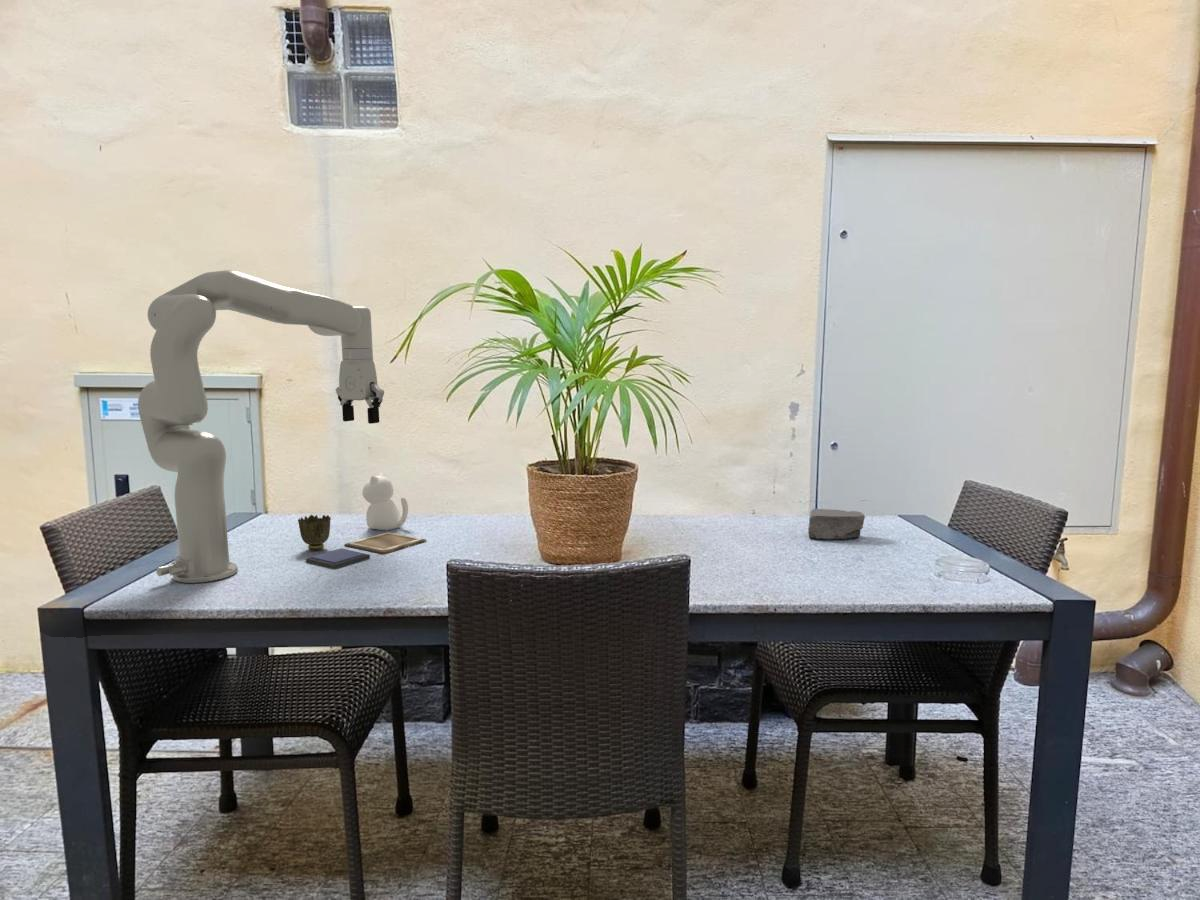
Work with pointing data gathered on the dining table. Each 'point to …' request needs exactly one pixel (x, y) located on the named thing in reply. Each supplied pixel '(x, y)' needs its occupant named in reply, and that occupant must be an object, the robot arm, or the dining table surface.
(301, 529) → the cup
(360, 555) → the ink pad
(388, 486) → the cat figurine
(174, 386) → the robot arm
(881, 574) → the dining table surface
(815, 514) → the decorative stone
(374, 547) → the marked board
